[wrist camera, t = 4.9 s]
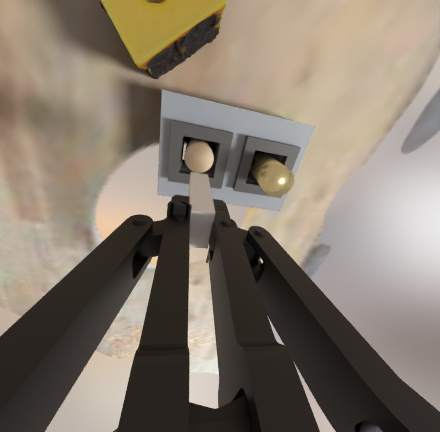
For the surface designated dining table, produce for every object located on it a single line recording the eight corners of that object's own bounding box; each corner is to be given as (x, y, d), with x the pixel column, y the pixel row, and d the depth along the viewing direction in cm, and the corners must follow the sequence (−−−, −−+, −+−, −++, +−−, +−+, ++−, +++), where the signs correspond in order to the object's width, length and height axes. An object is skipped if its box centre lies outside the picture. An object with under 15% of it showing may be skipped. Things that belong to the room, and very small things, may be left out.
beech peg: (185, 157, 33) (183, 170, 27) (188, 132, 31) (186, 140, 25) (208, 161, 33) (210, 174, 27) (212, 137, 31) (216, 146, 25)
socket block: (163, 180, 35) (156, 198, 28) (168, 91, 28) (160, 88, 22) (268, 196, 39) (282, 214, 33) (296, 122, 32) (320, 127, 26)
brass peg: (246, 175, 30) (259, 194, 24) (253, 150, 28) (269, 164, 22) (269, 179, 31) (286, 199, 25) (277, 155, 29) (299, 170, 23)
